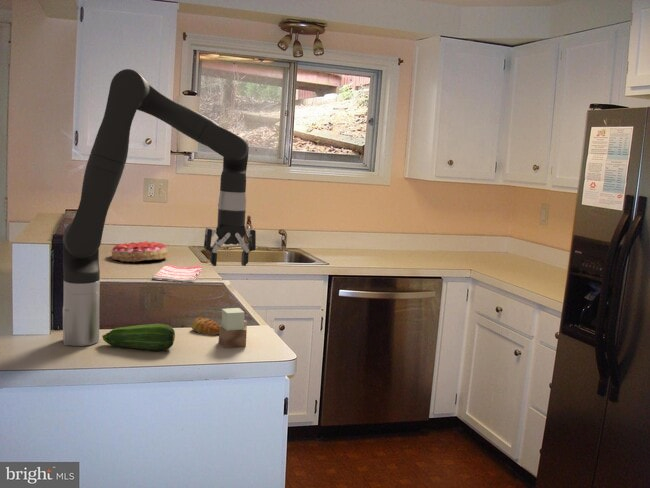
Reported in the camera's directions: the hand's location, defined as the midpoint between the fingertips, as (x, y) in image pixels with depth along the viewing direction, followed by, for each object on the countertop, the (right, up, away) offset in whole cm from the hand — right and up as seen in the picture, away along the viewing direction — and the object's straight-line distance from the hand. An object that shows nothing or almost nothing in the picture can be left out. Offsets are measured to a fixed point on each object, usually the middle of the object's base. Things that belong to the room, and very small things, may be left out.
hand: (229, 265), depth 185 cm
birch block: (0, -21, +12) cm, 24 cm away
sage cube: (+1, -18, +2) cm, 18 cm away
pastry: (-9, -21, +14) cm, 27 cm away
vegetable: (-24, -23, -5) cm, 33 cm away
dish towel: (-34, -8, +90) cm, 97 cm away
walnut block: (+1, -23, +2) cm, 23 cm away
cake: (-59, -2, +122) cm, 135 cm away
